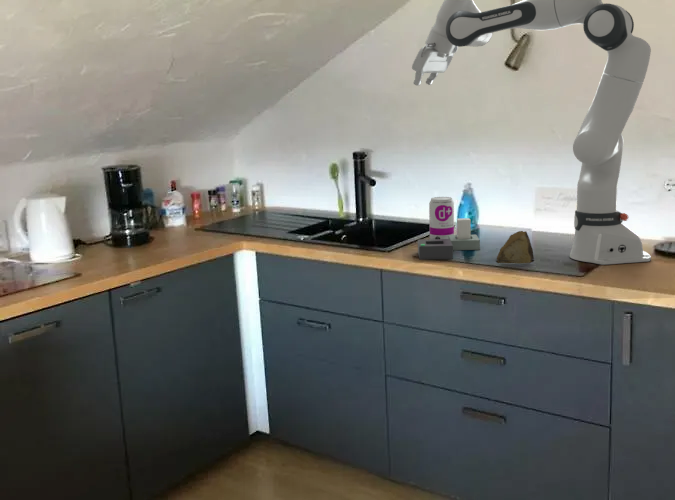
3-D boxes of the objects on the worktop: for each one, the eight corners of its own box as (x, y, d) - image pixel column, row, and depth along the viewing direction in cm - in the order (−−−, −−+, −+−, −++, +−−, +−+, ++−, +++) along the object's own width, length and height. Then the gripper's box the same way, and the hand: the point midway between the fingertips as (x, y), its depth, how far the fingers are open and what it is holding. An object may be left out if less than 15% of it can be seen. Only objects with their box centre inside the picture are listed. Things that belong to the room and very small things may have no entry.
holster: (476, 246, 236) (476, 234, 235) (479, 252, 227) (479, 240, 226) (448, 247, 236) (448, 235, 235) (451, 253, 228) (450, 240, 227)
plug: (469, 245, 233) (469, 218, 231) (470, 247, 230) (470, 219, 228) (457, 245, 233) (456, 218, 231) (458, 247, 230) (457, 220, 228)
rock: (489, 257, 210) (522, 256, 205) (493, 231, 213) (526, 229, 208) (503, 272, 218) (535, 271, 212) (506, 247, 221) (538, 245, 216)
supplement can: (455, 244, 241) (455, 199, 237) (431, 244, 241) (430, 200, 238) (452, 239, 249) (452, 196, 245) (428, 240, 249) (427, 197, 246)
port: (449, 254, 226) (449, 237, 225) (452, 261, 216) (452, 244, 215) (417, 255, 227) (417, 238, 226) (419, 262, 217) (419, 245, 216)
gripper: (435, 47, 217) (416, 89, 223) (460, 48, 234) (442, 87, 240) (418, 38, 219) (400, 80, 225) (444, 40, 236) (427, 79, 242)
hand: (422, 84), depth 232 cm, fingers open, 8 cm apart
